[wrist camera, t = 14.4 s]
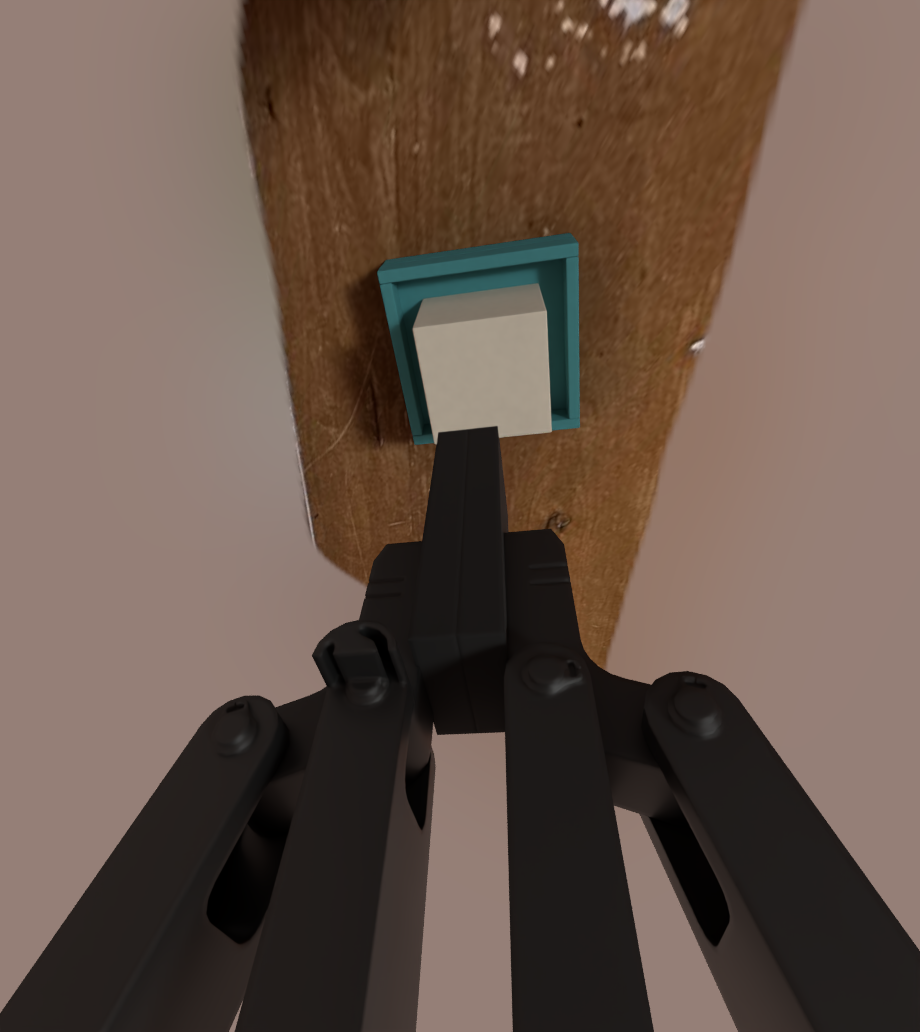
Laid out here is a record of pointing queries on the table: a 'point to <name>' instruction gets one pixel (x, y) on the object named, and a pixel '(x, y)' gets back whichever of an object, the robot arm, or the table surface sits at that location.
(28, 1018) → the robot arm
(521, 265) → the shallow tray
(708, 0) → the table surface
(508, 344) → the light gray cube
